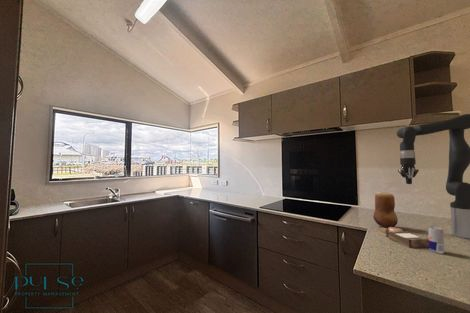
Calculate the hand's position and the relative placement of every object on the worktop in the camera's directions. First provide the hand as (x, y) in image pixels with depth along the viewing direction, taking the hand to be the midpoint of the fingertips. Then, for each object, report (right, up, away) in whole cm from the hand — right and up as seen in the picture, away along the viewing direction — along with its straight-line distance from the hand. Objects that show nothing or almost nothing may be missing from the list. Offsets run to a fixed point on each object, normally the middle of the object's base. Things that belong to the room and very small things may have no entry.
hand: (409, 184), depth 126 cm
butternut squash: (-7, -33, +11) cm, 35 cm away
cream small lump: (-11, -32, -3) cm, 34 cm away
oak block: (-18, -32, -3) cm, 37 cm away
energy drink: (-10, -31, -27) cm, 42 cm away
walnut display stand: (-14, -31, -15) cm, 38 cm away
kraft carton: (-15, -32, -15) cm, 38 cm away
